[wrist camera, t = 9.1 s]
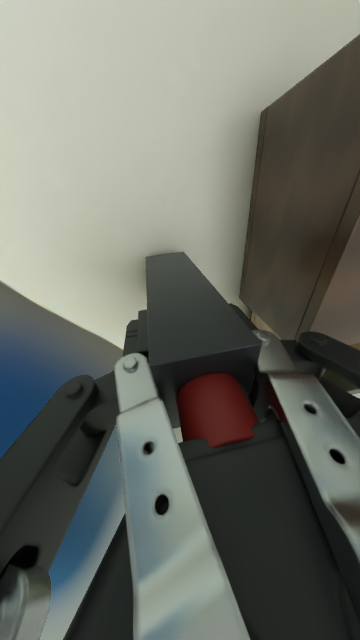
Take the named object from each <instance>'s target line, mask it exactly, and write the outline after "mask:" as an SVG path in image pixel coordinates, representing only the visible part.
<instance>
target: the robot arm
mask: <svg viewBox="0 0 360 640" xmlns="http://www.w3.org/2000/svg"><path fill="white" fill-rule="evenodd" d="M229 305H230V306H231V307H232V309H233V310H234V311H235V312H236V313H237V314H238V316H239V317H240V318H241V319H242V320H243V321H244V323H245V324H246V325H247V326H248V327H249V328H250V330H251V331H252V332H253V333H254V334H255V335H256V336H257V338H258V339H259V340H260V341H261V342H262V347H261V351H260V355H259V359H258V362H256V363H255V368H254V373H255V376H254V380H253V384H252V388H251V392H250V394H249V395H248V398H247V399H248V401H249V403H250V405H251V407H252V409H253V410H254V412H255V414H256V416H257V418H258V420H259V422H260V423H258V424H256V425H254V426H252V427H251V429H252V431H253V433H254V437H253V438H251V439H249V440H245V441H241V442H237V443H233V444H229V445H225V446H221V447H217V448H211V447H210V446H209V444H208V440H207V439H199V438H197V439H193V440H189V441H185V442H181V443H178V442H177V439H176V436H175V434H174V431H173V428H172V425H171V423H170V420H169V417H168V414H167V412H166V409H165V406H164V403H163V401H162V398H161V396H160V394H159V392H158V389H157V386H156V383H154V381H153V378H152V375H151V371H150V368H149V352H148V321H147V310H141V311H139V313H138V319H137V320H131V321H130V323H129V324H128V325H127V329H126V338H125V344H124V351H123V357H122V358H121V359H120V360H119V361H118V362H117V363H116V365H115V368H114V370H113V371H112V372H110V373H109V374H107V375H104V376H103V377H100V378H98V379H96V380H94V379H93V378H92V377H91V376H88V375H81V376H77V377H74V378H72V379H70V380H69V381H67V382H66V383H65V384H64V385H62V386H61V387H60V389H59V390H58V391H57V392H56V393H55V395H54V396H53V397H52V398H51V399H50V400H49V402H48V403H47V404H46V405H45V406H44V408H43V409H42V410H41V411H40V412H39V414H38V415H37V416H36V417H35V419H34V420H33V421H32V422H31V424H30V425H29V426H28V427H27V428H26V429H25V430H24V432H23V433H22V434H21V435H20V437H19V438H18V439H17V440H16V441H15V442H14V444H13V445H12V446H11V447H10V448H9V450H8V451H7V452H6V453H5V454H4V456H3V457H2V458H1V459H0V640H39V639H40V636H41V633H42V630H43V627H44V624H45V621H46V618H47V615H48V612H49V607H50V600H51V580H50V576H49V573H48V572H49V570H50V567H51V565H52V563H53V561H54V559H55V557H56V554H57V552H58V550H59V548H60V546H61V543H62V541H63V539H64V537H65V535H66V532H67V530H68V528H69V526H70V524H71V521H72V519H73V517H74V515H75V513H76V510H77V508H78V506H79V504H80V502H81V499H82V497H83V495H84V493H85V491H86V488H87V486H88V484H89V481H90V479H91V478H92V475H93V473H94V471H95V469H96V467H97V464H98V462H99V460H100V458H101V456H102V453H103V451H104V449H105V447H106V445H107V442H108V440H109V438H110V436H111V434H112V431H113V429H114V427H115V425H116V428H117V438H118V447H119V457H120V466H121V475H122V485H123V495H124V504H125V514H124V517H123V518H122V521H121V522H120V525H119V527H118V529H117V531H116V533H115V535H114V537H113V539H112V541H111V543H110V545H109V547H108V549H107V551H106V553H105V555H104V557H103V559H102V561H101V563H100V565H99V567H98V570H97V571H96V573H95V576H94V578H93V580H92V582H91V584H90V586H89V588H88V590H87V592H86V594H85V596H84V598H83V600H82V602H81V604H80V606H79V608H78V610H77V612H76V614H75V616H74V618H73V620H72V622H71V624H70V627H69V628H68V631H67V633H66V635H65V637H64V639H63V640H360V399H359V398H356V397H355V396H353V395H351V394H350V393H348V392H346V391H345V390H343V389H342V388H340V387H338V386H337V385H335V384H333V383H332V382H330V381H329V380H327V379H325V378H324V377H322V375H323V374H324V372H325V370H328V371H329V372H331V373H333V374H334V375H336V376H338V377H340V378H341V379H343V380H345V381H346V382H348V383H350V384H351V385H353V386H355V387H357V388H358V389H360V350H358V349H356V348H354V347H351V346H349V345H347V344H345V343H343V342H340V341H338V340H336V339H334V338H332V337H329V336H327V335H325V334H322V333H319V332H314V331H306V332H302V333H301V334H299V336H298V339H297V340H281V339H279V338H278V337H277V336H276V335H274V334H273V333H271V332H269V331H266V330H259V329H258V328H257V327H256V326H255V325H254V324H253V323H252V321H251V320H250V319H249V318H248V317H246V315H245V314H244V313H242V311H241V310H240V309H239V307H237V306H235V305H233V304H231V303H230V304H229Z"/></svg>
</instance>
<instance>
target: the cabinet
mask: <svg viewBox="0 0 360 640" xmlns="http://www.w3.org/2000/svg"><path fill="white" fill-rule="evenodd" d="M239 298H240V299H241V300H242V301H243V302H244V303H245V304H246V305H247V306H248V307H249V308H250V309H251V310H252V311H253V312H254V313H255V314H256V315H257V316H258V317H259V318H260V319H261V320H262V321H263V322H265V323H266V324H267V325H268V326H269V327H270V328H271V329H272V330H273V331H274V332H275V333H276V334H277V335H278V336H279V337H280V338H281V339H282V340H297V339H298V336H299V334H301V333H302V332H306V331H314V332H319V333H322V334H325V335H327V336H329V337H332V338H334V339H336V340H338V341H340V342H343V343H345V344H347V345H351V344H356V343H360V35H358V36H357V37H356V38H354V39H353V40H352V41H351V42H349V43H348V44H347V45H346V46H344V47H343V48H342V49H341V50H339V51H338V52H337V53H336V54H334V55H333V56H332V57H330V58H329V59H328V60H327V61H325V62H324V63H323V64H322V65H320V66H319V67H318V68H317V69H315V70H314V71H313V72H312V73H310V74H309V75H308V76H307V77H305V78H304V79H303V80H301V81H300V82H299V83H298V84H296V85H295V86H294V87H293V88H291V89H290V90H289V91H288V92H286V93H285V94H284V95H283V96H281V97H280V98H279V99H278V100H276V101H275V102H274V103H272V104H271V105H270V106H269V107H267V108H266V109H264V110H263V111H262V112H261V120H260V129H259V137H258V145H257V154H256V162H255V171H254V179H253V188H252V196H251V204H250V213H249V221H248V230H247V238H246V247H245V255H244V263H243V272H242V280H241V289H240V297H239Z"/></svg>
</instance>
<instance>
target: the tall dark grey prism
mask: <svg viewBox="0 0 360 640" xmlns="http://www.w3.org/2000/svg"><path fill="white" fill-rule="evenodd" d="M146 290H147V321H148V352H149V368H150V371H151V375H152V378H153V381H154V383H156V386H157V389H158V392H159V394H160V396H161V398H162V401H163V403H164V406H165V409H166V412H167V414H168V417H169V420H170V423H171V425H172V428H178V427H181V432H182V438H183V442H185V441H189V440H193V439H197V438H199V439H207V440H208V444H209V446H210V447H211V448H217V447H221V446H225V445H229V444H233V443H237V442H241V441H245V440H249V439H251V438H253V437H254V433H253V431H252V429H251V427H252V426H254V425H256V424H258V423H260V422H259V420H258V418H257V416H256V414H255V412H254V410H253V409H252V407H251V405H250V403H249V401H248V399H247V398H248V395H249V394H250V392H251V388H252V384H253V380H254V376H255V373H254V368H255V363H256V362H258V359H259V355H260V351H261V347H262V342H261V341H260V340H259V339H258V338H257V336H256V335H255V334H254V333H253V332H252V331H251V330H250V328H249V327H248V326H247V325H246V324H245V323H244V321H243V320H242V319H241V318H240V317H239V316H238V314H237V313H236V312H235V311H234V310H233V309H232V307H231V306H230V305H229V304H228V303H227V302H226V300H225V299H224V298H223V297H222V296H221V295H220V294H219V292H218V291H217V290H216V289H215V288H214V287H213V285H212V284H211V283H210V282H209V281H208V280H207V278H206V277H205V276H204V275H203V274H202V273H201V271H200V270H199V269H198V268H197V267H196V266H195V264H194V263H193V262H192V261H191V260H190V259H189V258H188V256H187V255H186V254H185V253H184V252H179V253H172V254H165V255H158V256H151V257H146Z"/></svg>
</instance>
